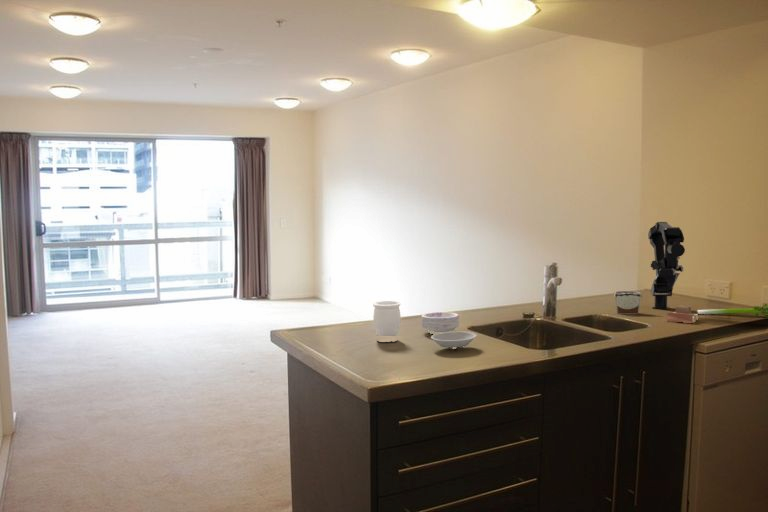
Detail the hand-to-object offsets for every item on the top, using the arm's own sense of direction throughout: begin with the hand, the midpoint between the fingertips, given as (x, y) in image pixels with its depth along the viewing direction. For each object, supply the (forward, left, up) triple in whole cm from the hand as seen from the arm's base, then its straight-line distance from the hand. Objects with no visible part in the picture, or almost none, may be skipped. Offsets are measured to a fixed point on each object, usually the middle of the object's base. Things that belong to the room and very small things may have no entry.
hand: (670, 288), depth 280 cm
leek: (-12, +24, -13) cm, 30 cm away
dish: (+112, -46, -12) cm, 122 cm away
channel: (+11, +8, -12) cm, 18 cm away
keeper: (+10, +8, -12) cm, 18 cm away
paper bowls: (+92, -65, -12) cm, 114 cm away
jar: (+115, -75, -12) cm, 138 cm away
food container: (+6, -18, -12) cm, 23 cm away
